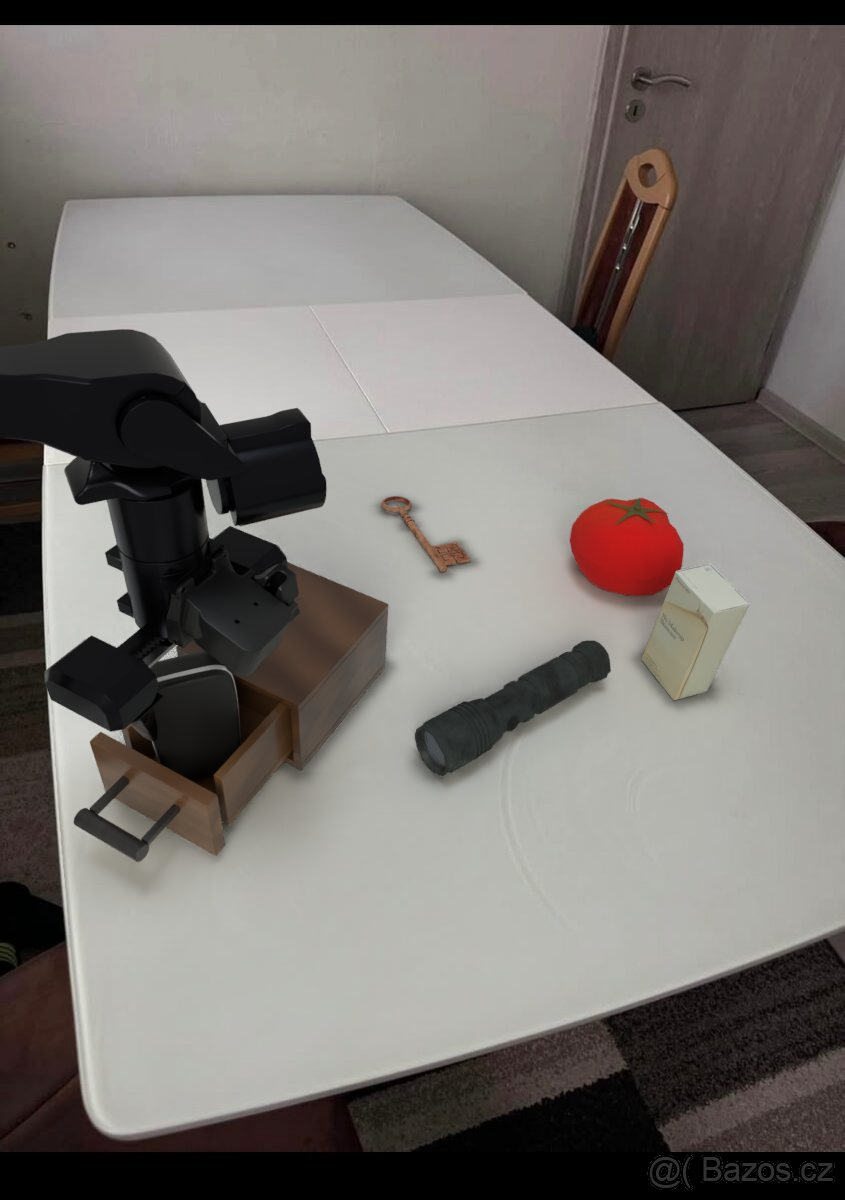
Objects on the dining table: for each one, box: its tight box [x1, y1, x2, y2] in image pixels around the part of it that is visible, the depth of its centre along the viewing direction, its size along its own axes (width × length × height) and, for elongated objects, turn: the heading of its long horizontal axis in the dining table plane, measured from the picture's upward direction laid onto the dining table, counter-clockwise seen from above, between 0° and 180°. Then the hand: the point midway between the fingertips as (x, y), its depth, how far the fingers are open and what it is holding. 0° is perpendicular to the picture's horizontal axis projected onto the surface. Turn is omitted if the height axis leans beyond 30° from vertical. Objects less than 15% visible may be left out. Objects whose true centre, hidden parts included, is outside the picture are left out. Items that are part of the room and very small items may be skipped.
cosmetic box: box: [641, 562, 751, 701], centre depth 79 cm, size 6×4×12 cm
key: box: [380, 495, 472, 572], centre depth 98 cm, size 6×1×15 cm
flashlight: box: [414, 639, 612, 777], centre depth 75 cm, size 5×21×5 cm, turn 127°
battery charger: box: [150, 651, 241, 781], centre depth 65 cm, size 7×4×11 cm, turn 113°
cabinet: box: [175, 561, 389, 771], centre depth 75 cm, size 15×13×9 cm
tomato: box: [569, 497, 685, 597], centre depth 91 cm, size 11×13×10 cm
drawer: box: [73, 681, 293, 863], centre depth 66 cm, size 18×11×7 cm, turn 152°
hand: (192, 697), depth 62 cm, fingers open, 9 cm apart
